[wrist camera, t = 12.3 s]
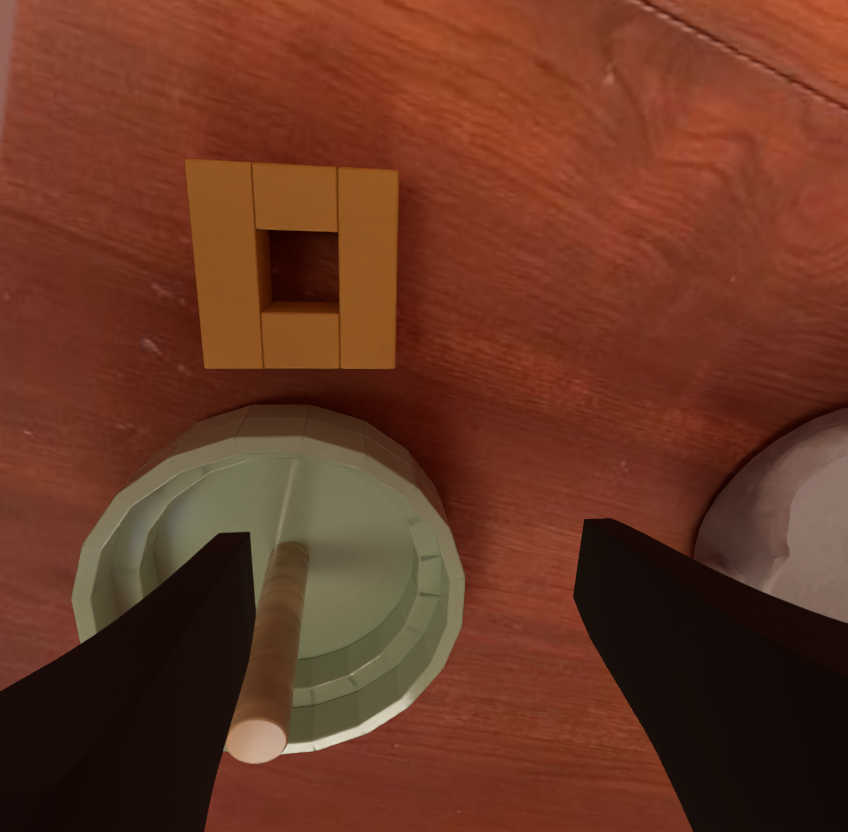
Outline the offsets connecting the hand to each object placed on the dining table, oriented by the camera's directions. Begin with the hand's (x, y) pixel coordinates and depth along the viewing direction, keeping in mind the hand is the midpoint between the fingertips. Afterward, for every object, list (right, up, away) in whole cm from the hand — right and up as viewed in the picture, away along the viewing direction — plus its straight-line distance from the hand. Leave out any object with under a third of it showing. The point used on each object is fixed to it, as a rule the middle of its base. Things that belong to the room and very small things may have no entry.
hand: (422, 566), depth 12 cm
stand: (-4, +8, +8) cm, 12 cm away
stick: (-5, -3, +11) cm, 12 cm away
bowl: (-6, -2, +11) cm, 13 cm away
